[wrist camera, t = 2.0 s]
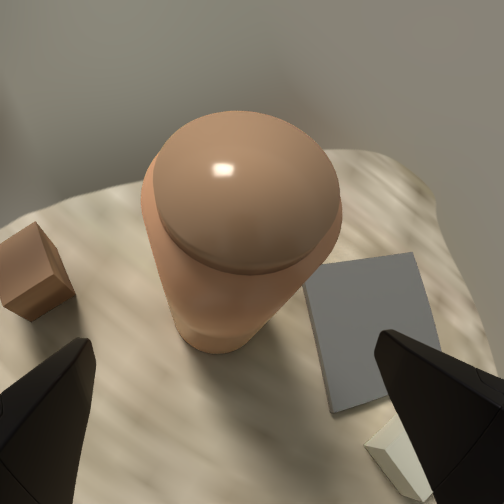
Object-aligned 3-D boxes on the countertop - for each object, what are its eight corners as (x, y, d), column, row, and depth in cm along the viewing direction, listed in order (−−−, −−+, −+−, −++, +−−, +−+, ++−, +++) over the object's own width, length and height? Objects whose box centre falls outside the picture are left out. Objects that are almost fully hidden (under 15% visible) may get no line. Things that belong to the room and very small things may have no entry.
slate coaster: (441, 371, 21) (445, 370, 20) (330, 412, 19) (333, 412, 18) (408, 255, 25) (412, 252, 24) (298, 270, 22) (301, 267, 22)
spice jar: (267, 346, 20) (381, 263, 8) (178, 359, 19) (140, 294, 6) (251, 265, 22) (318, 105, 10) (168, 274, 21) (139, 108, 8)
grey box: (434, 457, 18) (459, 460, 15) (399, 494, 17) (423, 502, 14) (400, 407, 20) (425, 406, 17) (362, 444, 18) (384, 449, 15)
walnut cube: (76, 294, 19) (53, 273, 16) (31, 322, 18) (2, 306, 14) (57, 248, 20) (35, 221, 17) (15, 274, 19) (-12, 252, 15)
